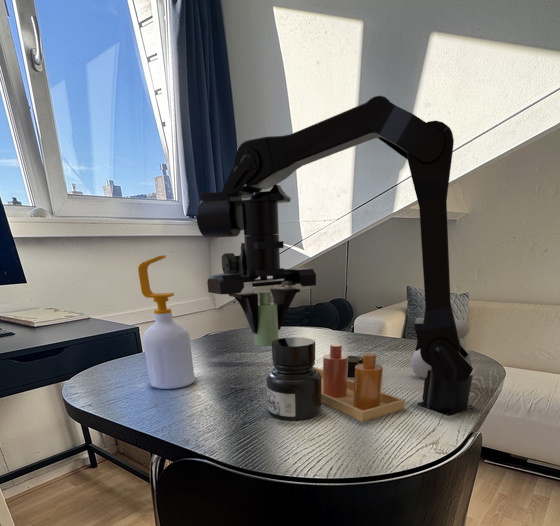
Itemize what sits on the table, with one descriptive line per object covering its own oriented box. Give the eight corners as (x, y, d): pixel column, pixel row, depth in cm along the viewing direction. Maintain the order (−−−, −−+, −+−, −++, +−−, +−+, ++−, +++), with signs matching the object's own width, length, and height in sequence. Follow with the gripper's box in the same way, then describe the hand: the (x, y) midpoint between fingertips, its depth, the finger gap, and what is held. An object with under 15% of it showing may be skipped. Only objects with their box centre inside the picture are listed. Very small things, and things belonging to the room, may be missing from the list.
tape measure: (362, 370, 90) (363, 353, 89) (367, 379, 84) (368, 361, 83) (331, 370, 91) (332, 354, 89) (334, 380, 85) (334, 362, 83)
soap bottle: (189, 389, 82) (172, 255, 72) (144, 390, 82) (121, 257, 72) (198, 376, 90) (184, 254, 80) (157, 377, 90) (138, 255, 80)
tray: (404, 411, 68) (405, 400, 67) (362, 424, 64) (362, 412, 63) (314, 376, 88) (314, 366, 87) (277, 384, 83) (277, 374, 82)
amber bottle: (385, 408, 68) (389, 355, 64) (365, 414, 66) (368, 359, 62) (367, 401, 71) (370, 349, 68) (347, 406, 69) (349, 353, 66)
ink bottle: (260, 407, 71) (256, 338, 66) (306, 400, 74) (306, 333, 69) (280, 428, 63) (277, 351, 58) (331, 419, 66) (333, 344, 61)
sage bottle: (283, 344, 74) (281, 291, 70) (262, 347, 72) (259, 294, 68) (271, 340, 77) (268, 290, 74) (250, 343, 75) (247, 292, 72)
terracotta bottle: (351, 394, 75) (354, 345, 71) (332, 399, 73) (333, 349, 69) (336, 388, 78) (337, 341, 74) (317, 393, 76) (318, 344, 72)
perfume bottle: (409, 372, 88) (415, 314, 83) (458, 374, 85) (467, 315, 80) (409, 382, 82) (415, 321, 77) (461, 385, 79) (472, 322, 74)
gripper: (283, 236, 78) (285, 320, 84) (190, 238, 69) (201, 332, 76) (318, 233, 69) (318, 327, 76) (217, 236, 60) (226, 341, 67)
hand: (266, 331), depth 74 cm, fingers closed on sage bottle, 4 cm apart
